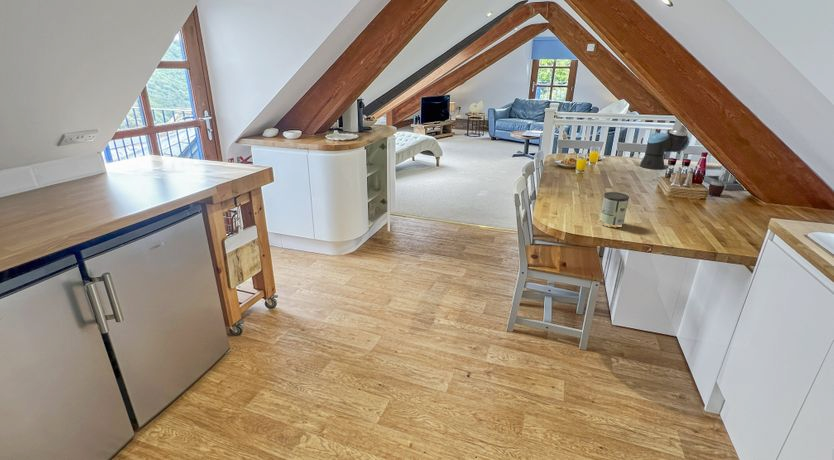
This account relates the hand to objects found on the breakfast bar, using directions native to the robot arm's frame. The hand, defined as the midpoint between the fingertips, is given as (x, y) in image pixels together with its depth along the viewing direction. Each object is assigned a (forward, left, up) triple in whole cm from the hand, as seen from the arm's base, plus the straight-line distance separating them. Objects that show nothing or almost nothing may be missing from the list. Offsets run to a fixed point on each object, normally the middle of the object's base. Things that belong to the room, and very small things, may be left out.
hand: (727, 179), depth 250 cm
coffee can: (+63, -100, -4) cm, 118 cm away
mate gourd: (+20, -21, -4) cm, 29 cm away
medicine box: (0, 0, -1) cm, 1 cm away
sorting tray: (0, 0, -4) cm, 4 cm away
